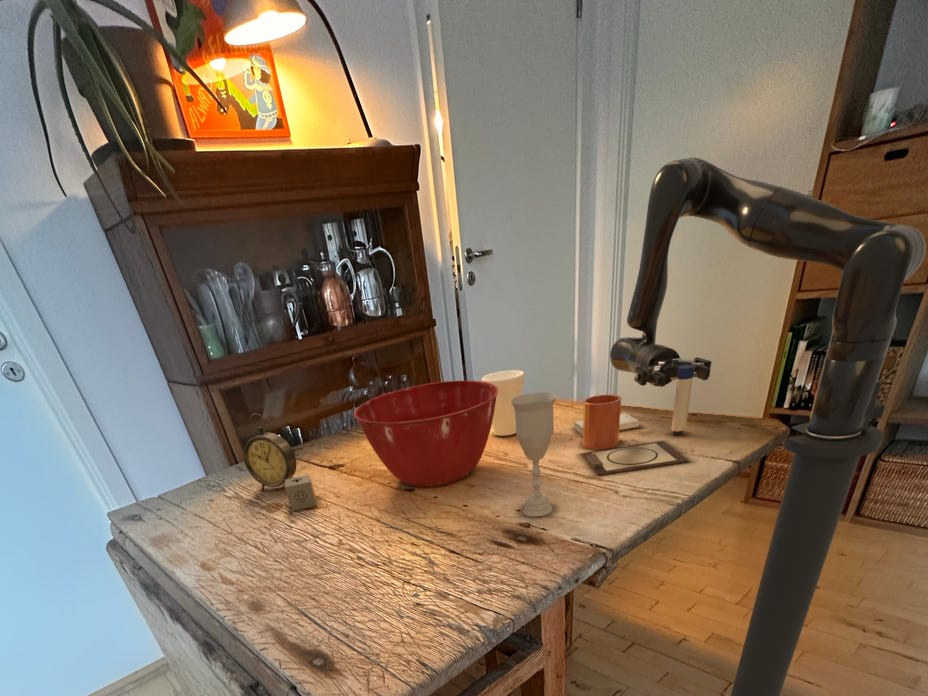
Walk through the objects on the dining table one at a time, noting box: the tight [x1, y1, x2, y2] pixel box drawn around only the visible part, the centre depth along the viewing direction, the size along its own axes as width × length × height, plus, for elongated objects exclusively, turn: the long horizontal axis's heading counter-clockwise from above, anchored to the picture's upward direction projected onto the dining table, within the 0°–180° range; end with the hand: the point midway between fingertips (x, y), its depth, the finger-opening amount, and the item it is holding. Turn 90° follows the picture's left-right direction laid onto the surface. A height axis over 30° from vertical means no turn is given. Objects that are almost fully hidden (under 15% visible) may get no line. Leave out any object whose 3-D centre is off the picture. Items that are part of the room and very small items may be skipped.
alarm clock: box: [242, 412, 297, 491], centre depth 113 cm, size 11×5×16 cm, turn 74°
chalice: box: [511, 392, 557, 517], centre depth 84 cm, size 7×7×18 cm
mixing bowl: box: [353, 380, 498, 488], centre depth 105 cm, size 28×28×15 cm
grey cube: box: [284, 474, 318, 512], centre depth 106 cm, size 5×5×5 cm
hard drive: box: [573, 412, 640, 436], centre depth 119 cm, size 2×8×12 cm
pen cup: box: [582, 394, 622, 450], centre depth 109 cm, size 7×7×9 cm
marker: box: [671, 365, 695, 437], centre depth 106 cm, size 3×3×13 cm
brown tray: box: [580, 440, 690, 477], centre depth 102 cm, size 17×13×1 cm
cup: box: [480, 369, 525, 436], centre depth 123 cm, size 10×10×13 cm
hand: (685, 377), depth 103 cm, fingers open, 8 cm apart
